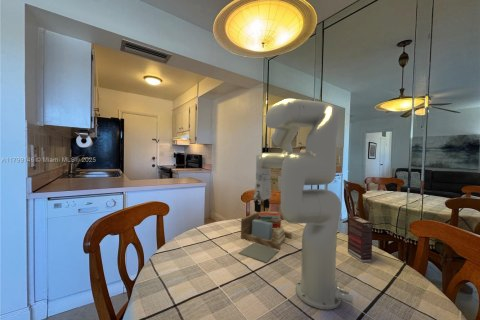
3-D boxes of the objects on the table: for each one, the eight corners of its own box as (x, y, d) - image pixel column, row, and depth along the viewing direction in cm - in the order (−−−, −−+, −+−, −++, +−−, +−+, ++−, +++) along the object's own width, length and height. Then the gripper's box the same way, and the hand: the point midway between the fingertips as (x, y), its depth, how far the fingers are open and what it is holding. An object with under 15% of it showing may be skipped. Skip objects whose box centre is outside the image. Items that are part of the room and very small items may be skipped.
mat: (278, 251, 87) (278, 250, 87) (266, 263, 77) (266, 262, 77) (252, 243, 94) (253, 243, 94) (238, 253, 84) (238, 252, 84)
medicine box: (277, 224, 125) (277, 211, 124) (280, 228, 116) (281, 215, 116) (253, 223, 124) (253, 211, 124) (255, 228, 115) (255, 214, 115)
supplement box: (372, 261, 80) (373, 222, 80) (361, 262, 79) (362, 222, 79) (356, 251, 88) (357, 216, 88) (346, 252, 87) (347, 216, 87)
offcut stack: (284, 240, 100) (285, 228, 100) (278, 245, 93) (279, 232, 93) (277, 238, 102) (277, 226, 102) (270, 243, 95) (271, 231, 95)
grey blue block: (272, 238, 101) (272, 222, 101) (269, 240, 98) (269, 224, 98) (255, 233, 107) (255, 219, 107) (251, 235, 104) (252, 220, 104)
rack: (291, 238, 102) (292, 218, 102) (279, 249, 89) (279, 227, 88) (256, 229, 114) (257, 211, 114) (240, 238, 100) (241, 218, 100)
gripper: (261, 179, 93) (260, 215, 94) (276, 176, 108) (275, 207, 108) (248, 177, 97) (247, 212, 98) (264, 175, 112) (263, 205, 112)
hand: (262, 209), depth 103 cm, fingers open, 9 cm apart
